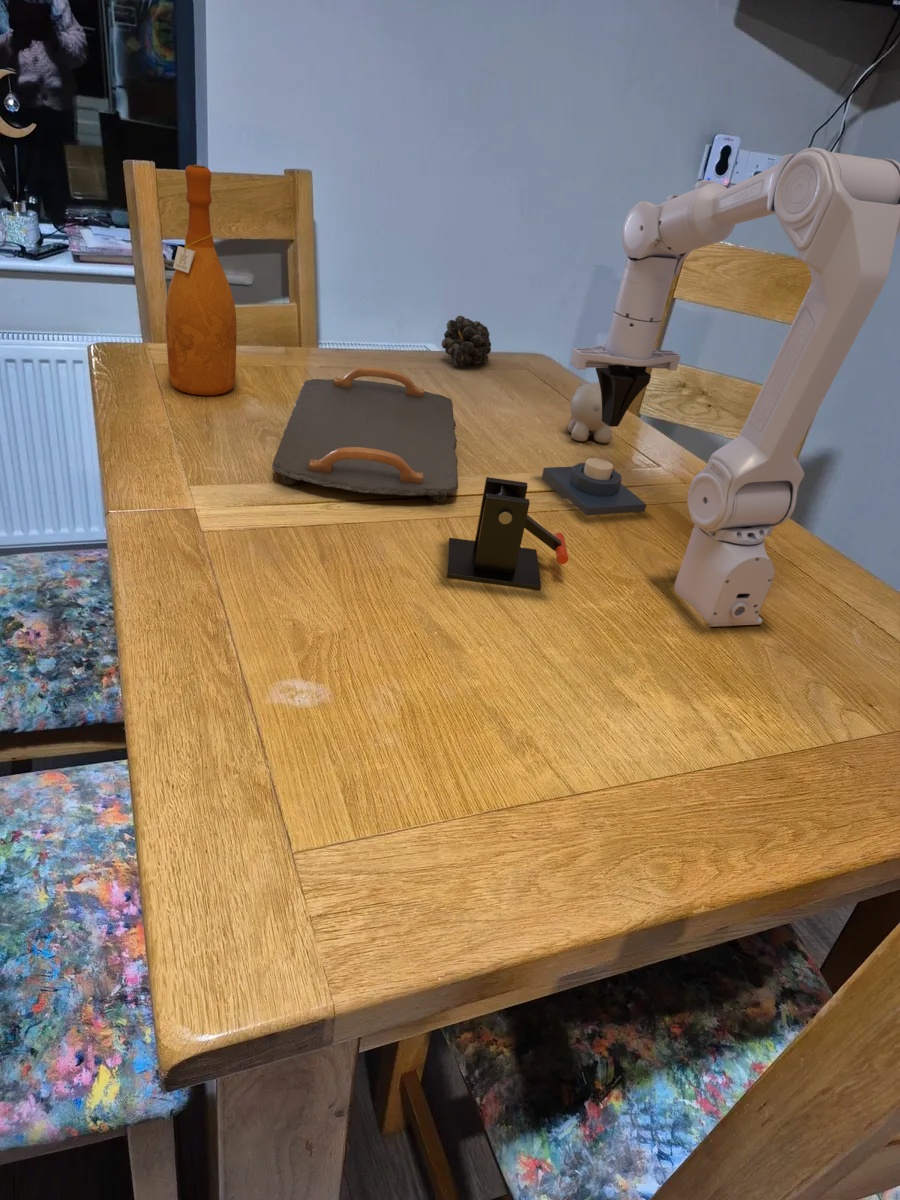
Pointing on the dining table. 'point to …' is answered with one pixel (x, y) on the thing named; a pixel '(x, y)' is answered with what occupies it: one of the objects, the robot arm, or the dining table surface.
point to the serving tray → (370, 437)
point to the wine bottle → (200, 303)
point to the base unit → (592, 491)
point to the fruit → (466, 341)
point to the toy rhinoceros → (588, 414)
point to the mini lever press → (497, 542)
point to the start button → (598, 469)
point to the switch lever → (542, 533)
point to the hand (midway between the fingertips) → (609, 423)
